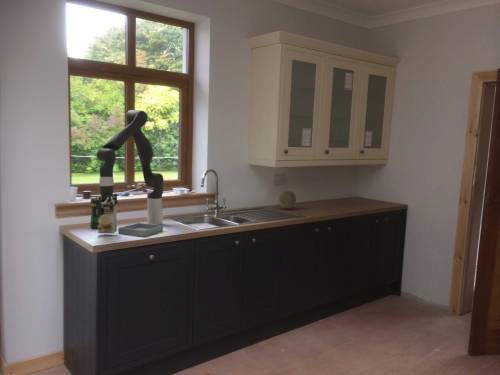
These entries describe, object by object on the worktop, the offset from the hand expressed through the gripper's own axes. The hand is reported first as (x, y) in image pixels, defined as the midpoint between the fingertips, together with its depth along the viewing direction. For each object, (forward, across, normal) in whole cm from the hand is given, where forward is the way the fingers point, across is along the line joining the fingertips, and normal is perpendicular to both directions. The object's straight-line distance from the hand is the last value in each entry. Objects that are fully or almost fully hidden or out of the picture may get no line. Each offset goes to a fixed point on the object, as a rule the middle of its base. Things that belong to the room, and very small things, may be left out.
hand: (107, 213), depth 242 cm
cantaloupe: (+15, -152, +55) cm, 162 cm away
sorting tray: (+13, -16, +11) cm, 23 cm away
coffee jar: (+13, -15, -20) cm, 28 cm away
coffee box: (+11, 0, 0) cm, 11 cm away
